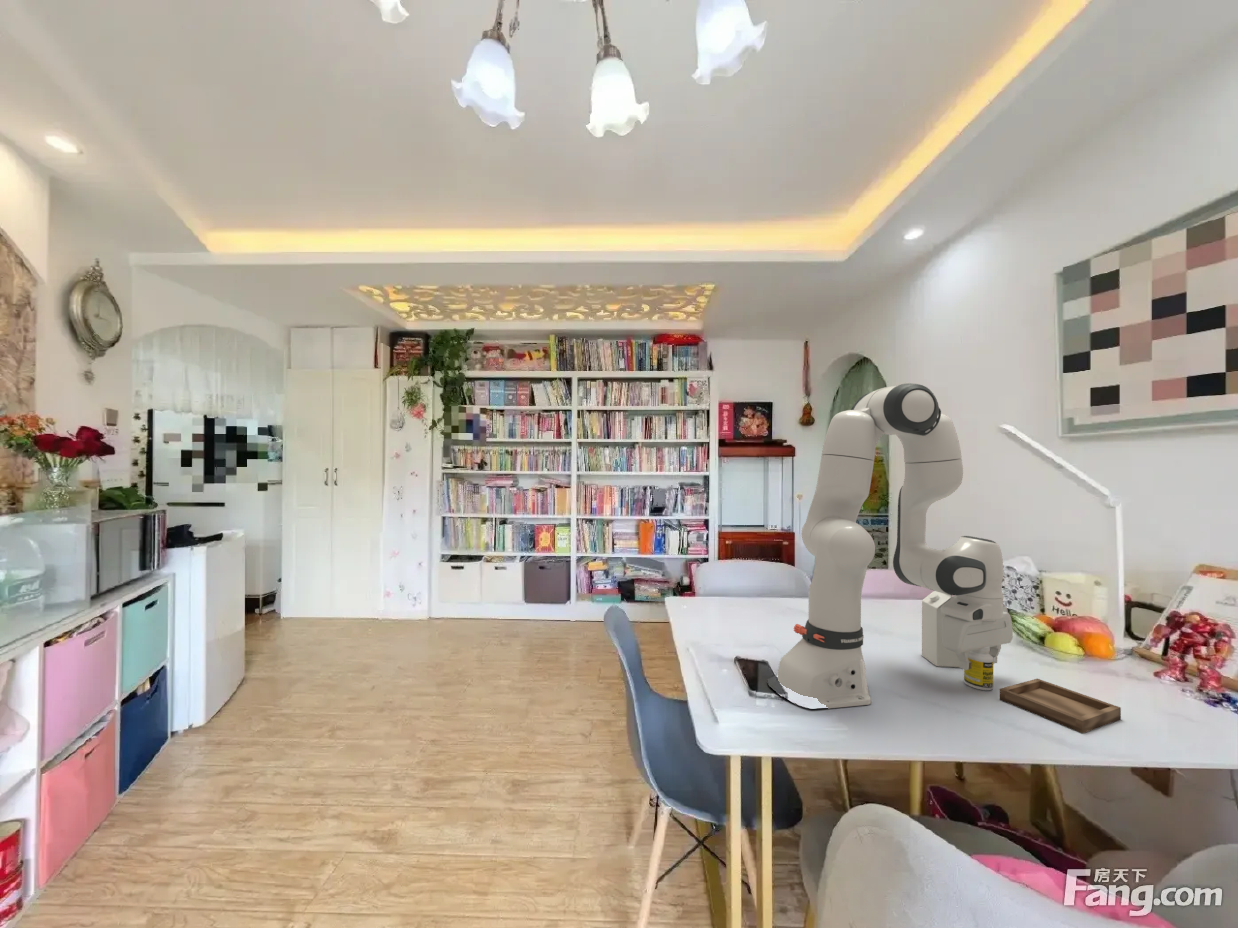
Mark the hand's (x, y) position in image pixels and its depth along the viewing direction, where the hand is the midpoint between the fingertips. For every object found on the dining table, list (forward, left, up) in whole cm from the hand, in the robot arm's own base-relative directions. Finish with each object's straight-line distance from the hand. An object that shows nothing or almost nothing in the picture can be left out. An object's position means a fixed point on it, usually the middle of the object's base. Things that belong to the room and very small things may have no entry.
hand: (978, 665), depth 109 cm
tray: (+4, -13, -5) cm, 14 cm away
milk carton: (+6, +12, -5) cm, 14 cm away
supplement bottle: (0, 0, -5) cm, 5 cm away
